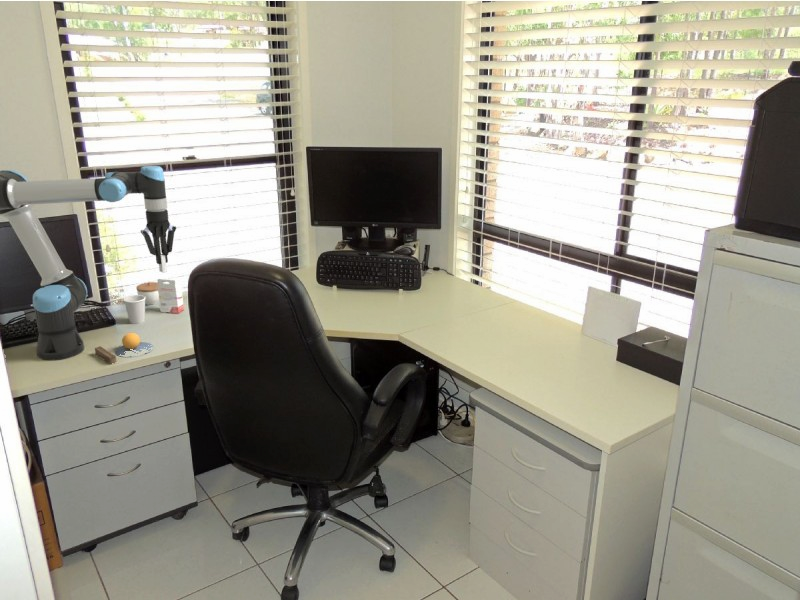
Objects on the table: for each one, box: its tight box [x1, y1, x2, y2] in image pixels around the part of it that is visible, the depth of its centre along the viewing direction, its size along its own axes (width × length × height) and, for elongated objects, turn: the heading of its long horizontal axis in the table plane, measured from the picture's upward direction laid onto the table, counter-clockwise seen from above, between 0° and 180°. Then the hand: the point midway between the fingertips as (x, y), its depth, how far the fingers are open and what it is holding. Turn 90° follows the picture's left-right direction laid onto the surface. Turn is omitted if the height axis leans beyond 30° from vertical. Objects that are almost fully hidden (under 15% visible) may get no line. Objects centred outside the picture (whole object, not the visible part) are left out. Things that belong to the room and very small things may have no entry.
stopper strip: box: [94, 346, 117, 365], centre depth 219 cm, size 2×12×2 cm, turn 48°
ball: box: [121, 332, 141, 349], centre depth 227 cm, size 6×6×6 cm
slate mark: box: [115, 341, 154, 356], centre depth 227 cm, size 13×13×1 cm
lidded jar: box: [136, 281, 160, 306], centre depth 273 cm, size 11×11×9 cm
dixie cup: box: [122, 294, 146, 325], centre depth 251 cm, size 8×8×10 cm
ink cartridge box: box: [157, 278, 185, 314], centre depth 263 cm, size 9×5×15 cm, turn 80°
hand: (163, 271), depth 234 cm, fingers closed
